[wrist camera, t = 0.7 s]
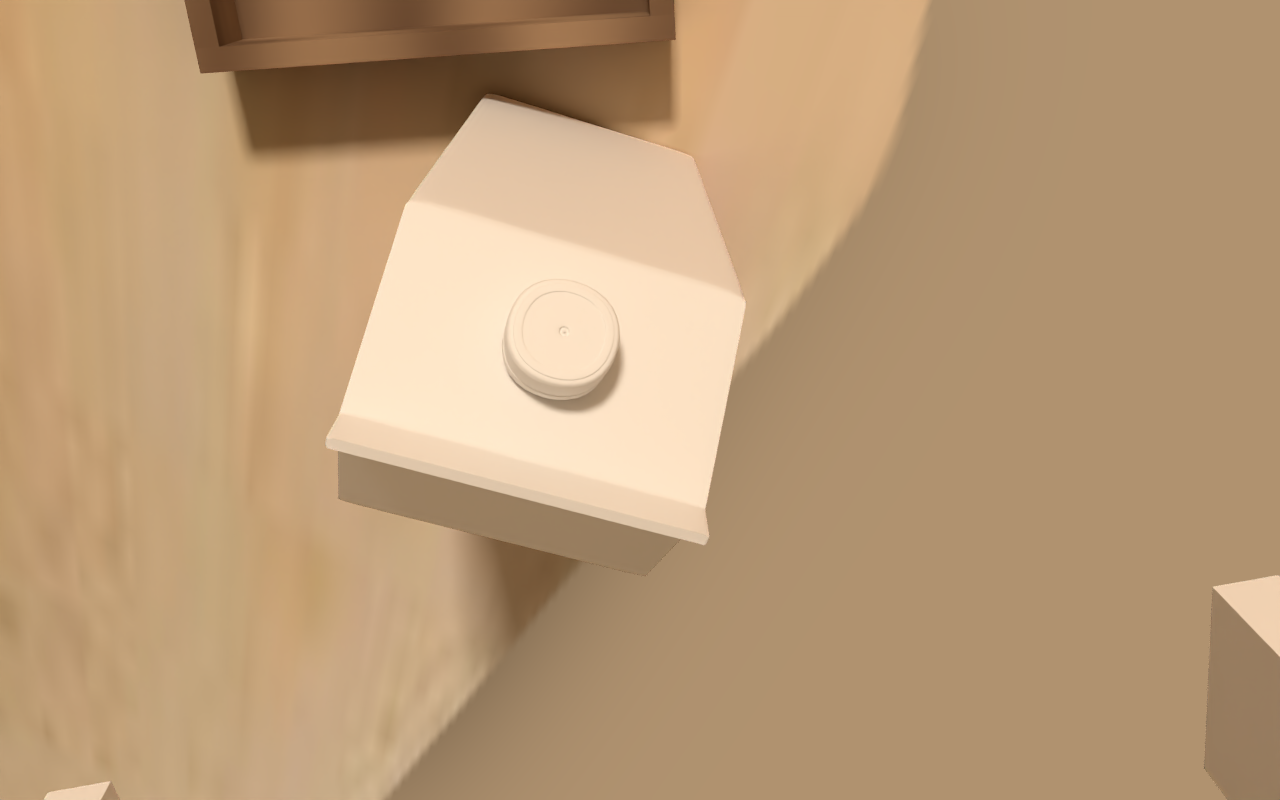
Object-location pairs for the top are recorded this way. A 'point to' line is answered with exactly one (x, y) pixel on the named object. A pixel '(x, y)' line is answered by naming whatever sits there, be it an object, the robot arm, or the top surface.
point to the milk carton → (548, 345)
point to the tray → (409, 29)
